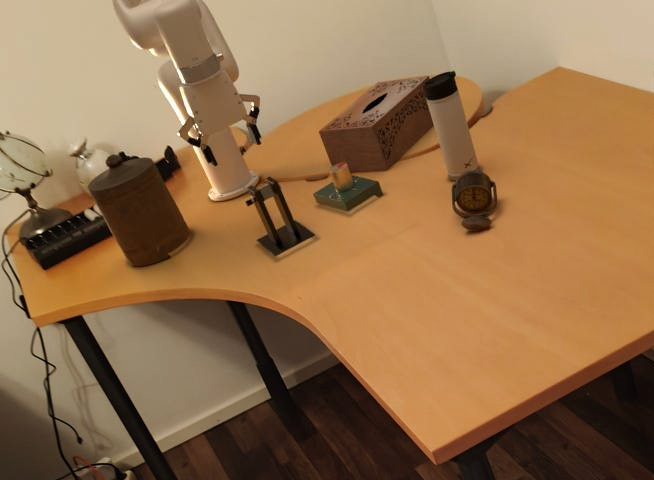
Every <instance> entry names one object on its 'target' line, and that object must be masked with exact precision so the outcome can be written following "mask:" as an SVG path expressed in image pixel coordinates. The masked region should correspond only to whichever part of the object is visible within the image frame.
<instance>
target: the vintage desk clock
mask: <svg viewBox="0 0 654 480" xmlns="http://www.w3.org/2000/svg"><path fill="white" fill-rule="evenodd" d="M450 189H451V191H450V192H451V207H452V211H453V212H454V213H455V214H456V215H458V217H461V218H463V220H461V222H460V225H461V226H462V227H463V228H464V229H466V231H467V230H468V231H472V232H475V231H476V232H477V231H481V230H484V229H486V228H488V227H489V226H490V225H492V220H491V219H490V218H489V217H490V216H492V215H493V214H494V213H495V212H496V211H497V209H498V191H497V184H496V182H495V181H493V180H491V178H490V176H489V175H488V174H487V173H486V172H483V171H482V170H479V171H478V170H470V171H467V172H464V173H463V174H461V175H460V176H459V177H458V179H457V181H455V183H453V184H452V185H451V188H450ZM492 190H493V191H492ZM493 201H494V205H493V207H492V208H491V209H489V210H488V211H486V212H483V211H485V210H486V209H488V208H489V207H490V206H491V204H492V202H493ZM456 205H457V206H458V208H459V209H460V210H462V211H460V210H459V209H458V208H457V206H456ZM464 212H466V213H464ZM481 212H483V213H481ZM473 213H480V214H473Z"/></svg>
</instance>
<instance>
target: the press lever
mask: <svg viewBox="0 0 654 480" xmlns="http://www.w3.org/2000/svg"><path fill="white" fill-rule="evenodd" d="M257 190H259V192H260V194H261V197H262V199H263V201H264V202H265V201H267V200H269V199H271V198H274V197H273V196H275V194H274V192H273V190H272V189H271V187H270V185H269V184H267V183H266V184H265V185H264V186H261V187H259V188H258V189H257ZM244 203H245V205H246V206H247V207H250V206H252V205H255V204H254V203H253V202H252V200H251V198H249V199H247V200H245V202H244Z"/></svg>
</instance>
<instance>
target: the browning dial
mask: <svg viewBox="0 0 654 480" xmlns="http://www.w3.org/2000/svg"><path fill="white" fill-rule="evenodd" d="M328 173H329V176H330V178H331V181H332V182H333V184H334V187H335V189H336V191H337V192H344V191H347V190H349V189H351V188H352V187H353V186H354V182H353V179H352V176H351V175H352V174H351V173H352V172H350V171H349V168H348V165H347V164H346V162H342V163H339V164H336V165H334V166H332V165H331V167H330V168H328Z"/></svg>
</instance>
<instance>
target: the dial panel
mask: <svg viewBox="0 0 654 480" xmlns="http://www.w3.org/2000/svg"><path fill="white" fill-rule="evenodd" d="M351 176H352V179H353V182H354V186H353V187H352V188H351V189H349V190H347V191H344V192H337V191H336V189H335V187H334V184H333V181H332V182H330V183H328V184H326V185H325V186H323V187H322V188H320V189H318V190H316V191H315V192H314V193H312V195H313V198H314V199H315V202H316V203H318V204H322V205H324V206H327V207H331V208H335V209H337V210H341V211H344V212H350V211H351V210H353V209H354V208H357V207H358V206H359V205H361V204H362V203H364V202H365V201H368V200H369V199H370V198H373V196H376V197H377V198H380V197H381V196H383V195H384V193H383V190H382V187H381V184H380V182H379V181H378V180H375V179H371V178H365V177H362V176H358V175H354V174H351Z"/></svg>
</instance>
